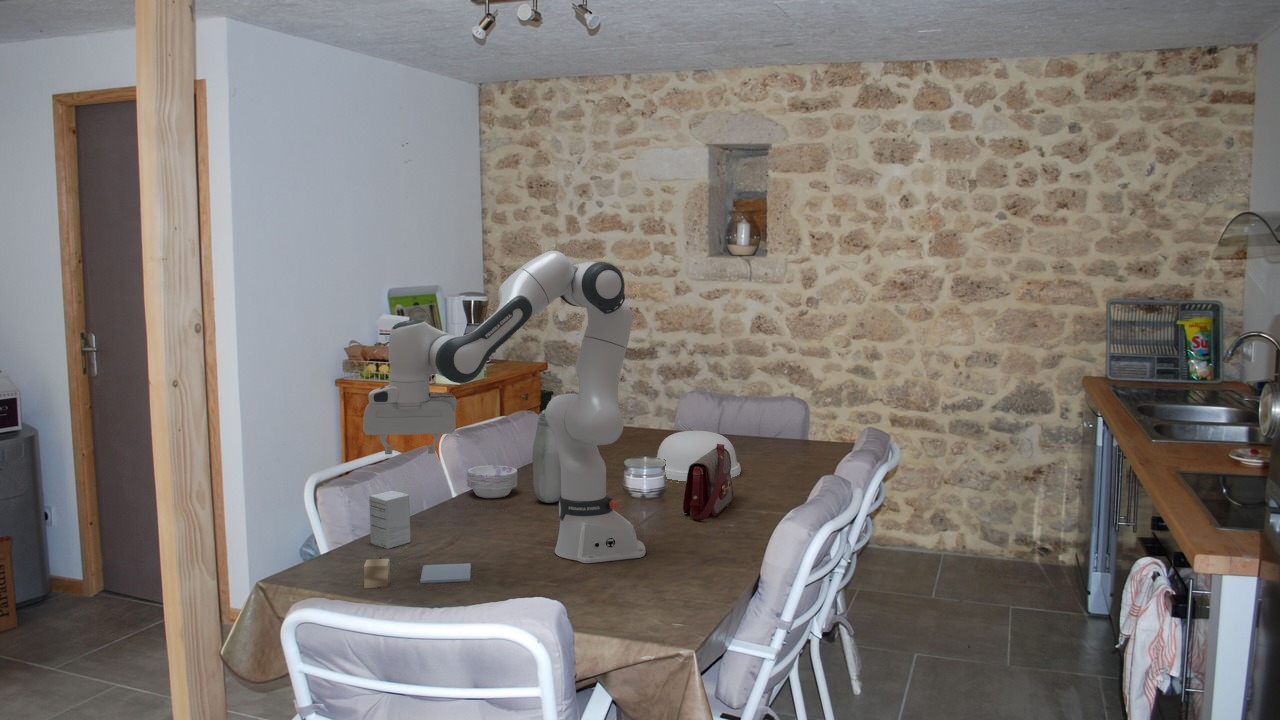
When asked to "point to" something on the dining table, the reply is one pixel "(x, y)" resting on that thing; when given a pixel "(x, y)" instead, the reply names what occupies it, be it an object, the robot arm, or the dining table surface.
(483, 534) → the dining table surface
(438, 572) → the coaster
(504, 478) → the paper bowls
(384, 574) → the beech cube
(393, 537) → the supplement box
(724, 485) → the handbag
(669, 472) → the dome cover
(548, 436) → the glass bottle
